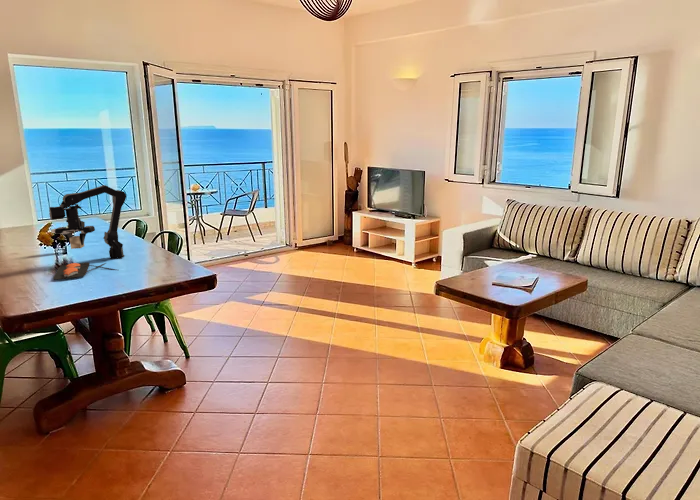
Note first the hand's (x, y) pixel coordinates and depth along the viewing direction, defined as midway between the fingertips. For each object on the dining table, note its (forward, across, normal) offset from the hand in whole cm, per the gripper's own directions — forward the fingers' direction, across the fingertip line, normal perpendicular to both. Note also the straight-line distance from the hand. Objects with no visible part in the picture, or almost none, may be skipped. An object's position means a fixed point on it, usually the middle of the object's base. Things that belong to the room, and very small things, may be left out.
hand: (77, 245), depth 265 cm
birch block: (+1, 0, 0) cm, 1 cm away
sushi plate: (+12, -10, +14) cm, 21 cm away
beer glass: (+11, +23, -29) cm, 39 cm away
